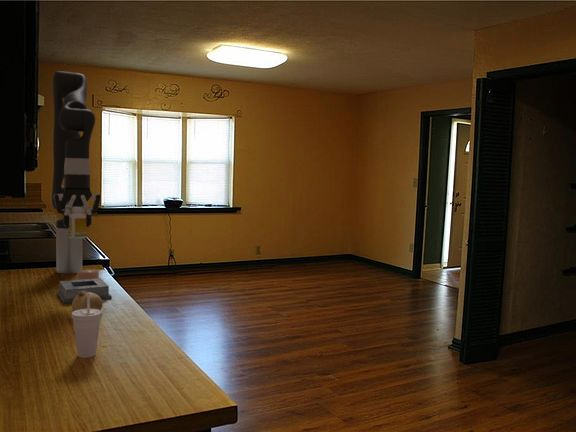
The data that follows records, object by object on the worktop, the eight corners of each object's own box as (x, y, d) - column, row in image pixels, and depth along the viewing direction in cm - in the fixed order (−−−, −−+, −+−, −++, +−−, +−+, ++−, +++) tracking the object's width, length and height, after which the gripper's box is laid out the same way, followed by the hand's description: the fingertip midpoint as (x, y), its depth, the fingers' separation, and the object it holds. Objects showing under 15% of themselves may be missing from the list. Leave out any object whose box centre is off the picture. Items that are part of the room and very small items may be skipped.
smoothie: (83, 362, 112) (83, 298, 111) (64, 355, 115) (64, 293, 114) (108, 354, 117) (108, 292, 116) (89, 347, 121) (89, 288, 120)
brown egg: (75, 284, 183) (75, 270, 183) (96, 282, 187) (96, 268, 186) (79, 288, 177) (79, 273, 177) (100, 286, 181) (100, 272, 180)
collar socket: (56, 293, 169) (56, 281, 169) (102, 289, 177) (102, 277, 176) (63, 303, 157) (63, 290, 157) (111, 298, 165) (111, 286, 164)
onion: (85, 310, 152) (85, 285, 151) (108, 313, 149) (108, 288, 149) (65, 317, 144) (65, 291, 144) (89, 320, 142) (89, 295, 141)
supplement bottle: (89, 237, 168) (89, 206, 167) (81, 239, 163) (81, 208, 162) (73, 236, 169) (73, 206, 168) (64, 238, 163) (64, 207, 163)
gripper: (98, 173, 171) (98, 225, 172) (50, 172, 164) (51, 226, 165) (103, 173, 165) (103, 227, 166) (53, 172, 157) (54, 228, 159)
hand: (77, 226), depth 165 cm, fingers closed on supplement bottle, 5 cm apart
